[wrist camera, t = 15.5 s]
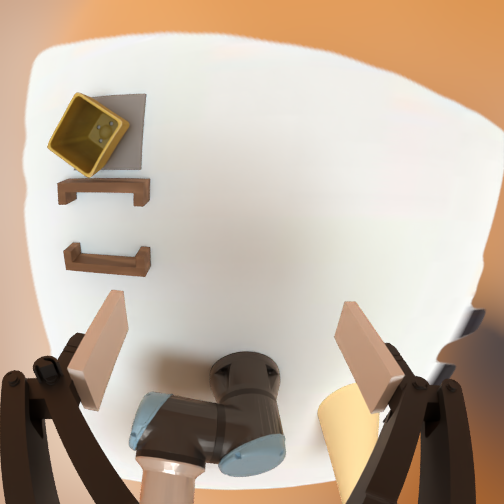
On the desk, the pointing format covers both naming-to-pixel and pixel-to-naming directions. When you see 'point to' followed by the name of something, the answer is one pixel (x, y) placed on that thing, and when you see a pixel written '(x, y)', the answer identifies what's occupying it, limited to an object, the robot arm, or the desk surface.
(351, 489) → the cone light
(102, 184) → the pair of brown brackets
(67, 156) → the flower pot
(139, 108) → the slate mat
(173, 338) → the desk surface
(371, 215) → the desk surface
